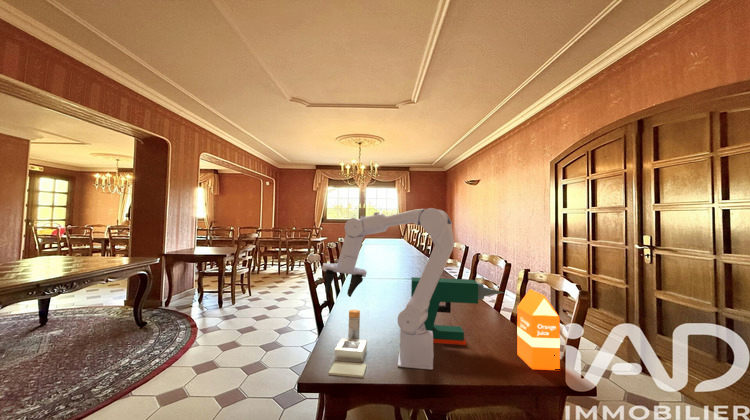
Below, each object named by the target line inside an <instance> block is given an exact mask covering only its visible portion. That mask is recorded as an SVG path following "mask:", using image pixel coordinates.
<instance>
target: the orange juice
mask: <svg viewBox="0 0 750 420" xmlns="http://www.w3.org/2000/svg"><path fill="white" fill-rule="evenodd" d="M516 309H517V317H516V318H517V322H516V323H517V324H516V325H517V326H516V327H517V328H516V330H517V331H516V333H517V334H516V335H517V341H516V342H517V350H516V352H517V354H516V355H517V356H518V357H519V358H520V359H521V360H522V361H523V362H524V363H525V364H526V365H527V366H528V367H529V368H531V370H543V371H544V370H547V371H556V370H555V369H560V370H561V362H560V361H561V338H560V337H561V336H560V333H561V331H560V329H561V327H560V323H561V322H560V321H561V320H560V315H558V313H557V311H556V310H555V308H554V307H553V305H552V303H550V301H549V300H548V298H547V296H546V295H544V294H542V293H540V292H538V291H535V290H534V289H531V288H529V289H528V291H527V292H526V293H525V295H524V297H523V298H522V299H521V301H520V302H519V304H518V305H517V308H516ZM554 355H555V356H554Z"/></svg>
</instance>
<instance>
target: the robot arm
mask: <svg viewBox="0 0 750 420" xmlns="http://www.w3.org/2000/svg"><path fill="white" fill-rule="evenodd" d="M407 224H414V225H416V226H421V227H422V228H423V230H424V231H425V232H426V233H427V234H428V235H429V236H430V238H431V241H432V243H433V245H434V247H433V248H432V251H431V253H430V255H429V258H428V259H427V260H428V261H427V262H426V265H425V267H424V269H423V272H422V274H421V276H420V277H419V278H420V280H419V283H418V285H417V287H416V290H415V292H414V294H413V296H412V297H411V298H410V299H409V301H408V302H407V304H406V306H405V308H404V309H403V310H401V311H400V312H399V314H398V316H397V324H398V327H399V328H400V329H399V330H400V331H399V333H400V334H399V339H400V340H399V341H400V342H399V352H398V360H397V367H400V368H406V369H407V368H409V369H411V368H412V369H421V370H434V358H435V357H434V356H435V354H434V343H433V332H432V331H429V330H426V328H425V325H424V322H425V321H426V320H427V317H428V307H429V305H430V299H431V297H432V295H433V293H434V290H435V288H436V286H437V284H438V281H439V279H440V278H441V277H442V274H443V272H444V269H445V268H446V266H447V263H448V261H449V259H450V256H451V254H452V252H453V251H454V248H455V238H454V231H453V222H452V220H451V219H450V216H449V215H448V213H447V212H446V211H444V210H442V209H437V208H434V207H433V208H432V207H428V208H419V209H418V208H417V209H412V210H408V211H404V212H400V213H396V214H391V215H389V216H388V215H386V214H384V213H381V212H379V211H377V212H374V213H373V215H368V216H367V215H360V218H356V217H351V218H349V219H348V220H346V221H345V224H344V232H345V236H344V239H343V242H342V247H341V250H340V253H339V257H338V261H337V263H327V262H326V263H325V262H323V263H322V267H321V270H322V271H323V272H324V276H325V291H324V292H325V294H326V295H329V294H330V291H331V288H332V287H331V286H332V284H333V281H334V278H335V276H334V273H339V274H347V275H351V277H350V283H349V286H348V289H347V296H348V297H349V298H351V297H352V295H353V293H354V291H355V290H356V288H357V287H358V286H359V285H360V284H361V283H362V282H363V280H364V278H366V277H367V273H368V271H366V269H365V268H364V269H362V268H358V267H356V264H357V261H358V258H359V254H360V250H361V247H362V244H363V240H364V238H365V236H370V235H374V234H379V233H384V232H387V230H388V229H389V227H395V226H400V225H401V226H402V225H407Z"/></svg>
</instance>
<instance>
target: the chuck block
mask: <svg viewBox="0 0 750 420" xmlns="http://www.w3.org/2000/svg"><path fill="white" fill-rule="evenodd" d="M367 345H368V341H367V339H359V340H357V339H348V338H340V340H339V342H338V343H337V345H336V347H335V348H334V361H337V362H349V363H361V364H363V362H364V359H365V356H366V352H367V348H368V347H367Z"/></svg>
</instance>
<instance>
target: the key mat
mask: <svg viewBox="0 0 750 420" xmlns="http://www.w3.org/2000/svg"><path fill="white" fill-rule="evenodd" d="M367 366H368V365H367V363H359V362H347V361H336V360H334V362H333V363H332V366H331V367H330V369H329V371H328V375H329V376H330V375H331V376H340V377H350V378H351V377H353V378H364V377H365V373H366V370H367Z"/></svg>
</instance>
